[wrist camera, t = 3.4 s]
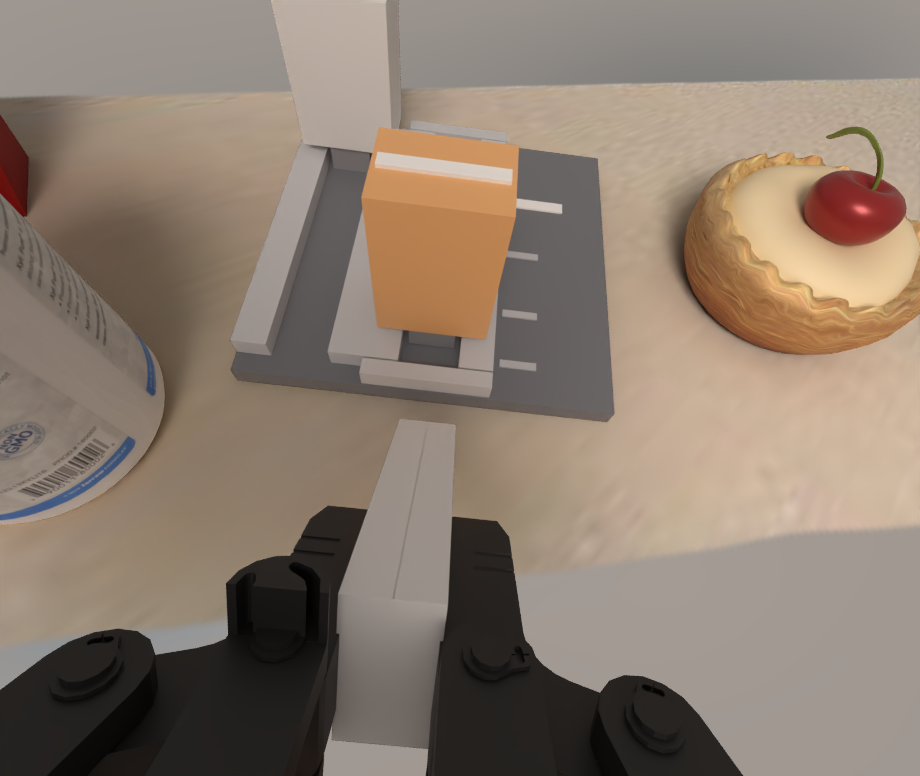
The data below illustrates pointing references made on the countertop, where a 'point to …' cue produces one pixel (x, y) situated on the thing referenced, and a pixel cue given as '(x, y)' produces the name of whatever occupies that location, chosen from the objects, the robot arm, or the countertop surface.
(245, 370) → the console board
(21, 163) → the french fries
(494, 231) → the fader knob
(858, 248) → the pastry
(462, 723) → the robot arm
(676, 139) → the countertop surface
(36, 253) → the supplement tub
